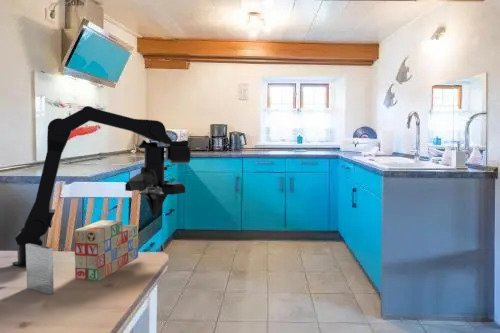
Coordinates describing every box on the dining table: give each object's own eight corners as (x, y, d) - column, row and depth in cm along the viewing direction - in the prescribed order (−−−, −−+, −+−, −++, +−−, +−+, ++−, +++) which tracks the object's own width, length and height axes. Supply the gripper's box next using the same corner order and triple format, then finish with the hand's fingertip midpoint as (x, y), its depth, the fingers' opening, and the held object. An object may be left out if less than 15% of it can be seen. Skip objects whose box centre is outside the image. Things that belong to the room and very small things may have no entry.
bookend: (26, 288, 96) (25, 244, 96) (31, 286, 97) (29, 243, 96) (49, 294, 92) (48, 248, 92) (53, 293, 93) (52, 247, 92)
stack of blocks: (118, 256, 123) (117, 213, 122) (138, 257, 122) (138, 214, 121) (74, 279, 102) (73, 229, 101) (98, 281, 101) (97, 230, 100)
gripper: (110, 163, 123) (111, 217, 124) (160, 166, 114) (160, 223, 115) (138, 162, 133) (139, 211, 134) (186, 164, 124) (186, 217, 125)
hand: (154, 216), depth 126 cm, fingers closed
